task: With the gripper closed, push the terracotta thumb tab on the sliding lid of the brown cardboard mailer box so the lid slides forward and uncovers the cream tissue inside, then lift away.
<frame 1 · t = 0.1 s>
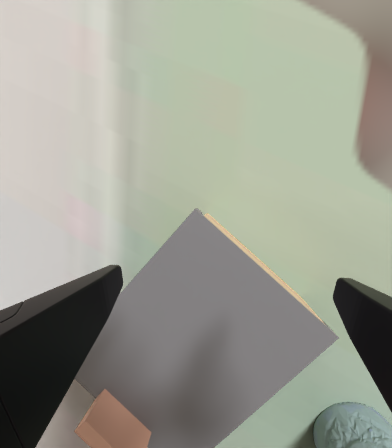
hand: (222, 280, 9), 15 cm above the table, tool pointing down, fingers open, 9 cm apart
drinking glass: (352, 434, 25), on the table
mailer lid: (185, 356, 18), point 7 cm above the table, slide at 0.0 cm
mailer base: (195, 313, 25), on the table
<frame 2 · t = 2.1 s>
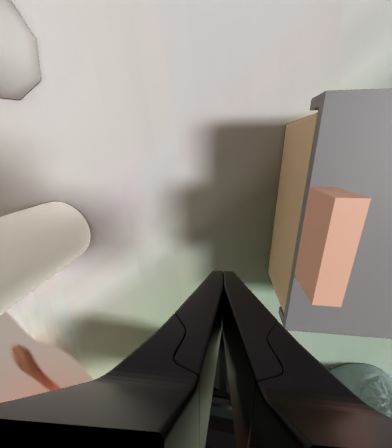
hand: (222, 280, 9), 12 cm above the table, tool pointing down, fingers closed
drinking glass: (353, 387, 26), on the table
flask: (5, 54, 18), on the table
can: (66, 228, 23), on the table
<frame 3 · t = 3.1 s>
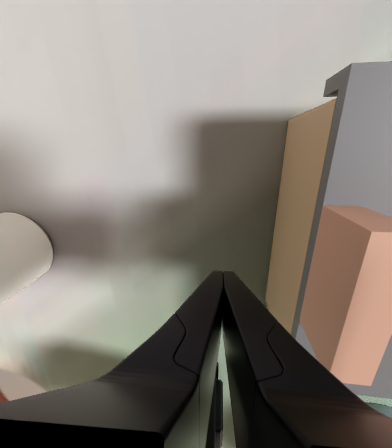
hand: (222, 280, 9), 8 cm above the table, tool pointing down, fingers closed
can: (25, 243, 19), on the table
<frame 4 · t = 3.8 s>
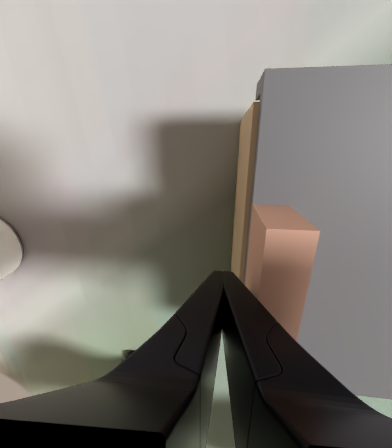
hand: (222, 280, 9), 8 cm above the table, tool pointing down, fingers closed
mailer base: (373, 226, 15), on the table
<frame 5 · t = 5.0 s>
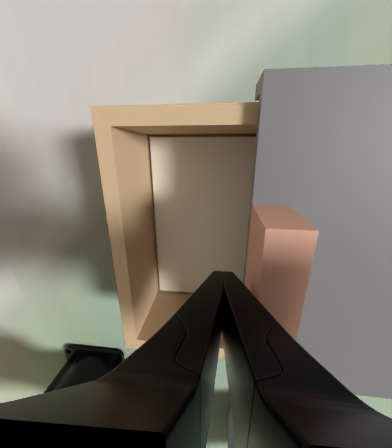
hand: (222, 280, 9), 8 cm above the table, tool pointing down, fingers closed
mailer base: (275, 222, 16), on the table
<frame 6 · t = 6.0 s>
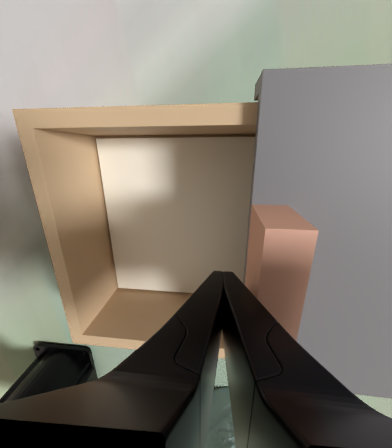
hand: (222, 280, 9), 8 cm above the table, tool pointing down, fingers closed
drinking glass: (234, 412, 24), on the table
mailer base: (225, 221, 16), on the table
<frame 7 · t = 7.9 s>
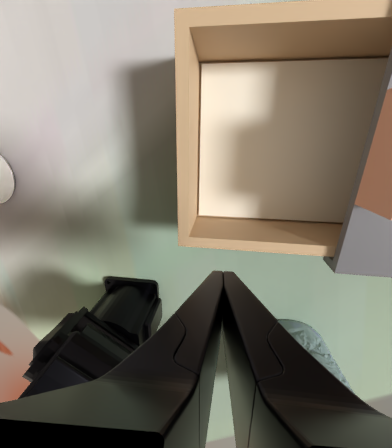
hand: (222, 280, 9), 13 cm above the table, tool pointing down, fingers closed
drinking glass: (285, 346, 26), on the table
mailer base: (305, 149, 18), on the table
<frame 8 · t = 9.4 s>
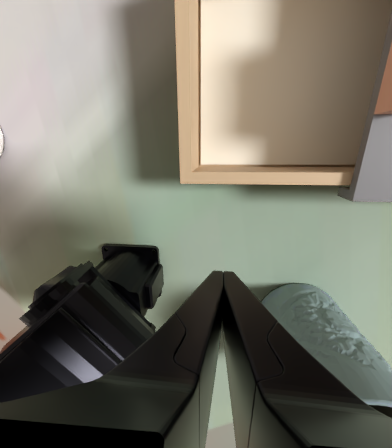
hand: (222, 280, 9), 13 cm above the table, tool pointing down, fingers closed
drinking glass: (295, 314, 25), on the table
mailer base: (313, 86, 17), on the table
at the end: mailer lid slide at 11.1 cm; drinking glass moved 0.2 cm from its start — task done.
